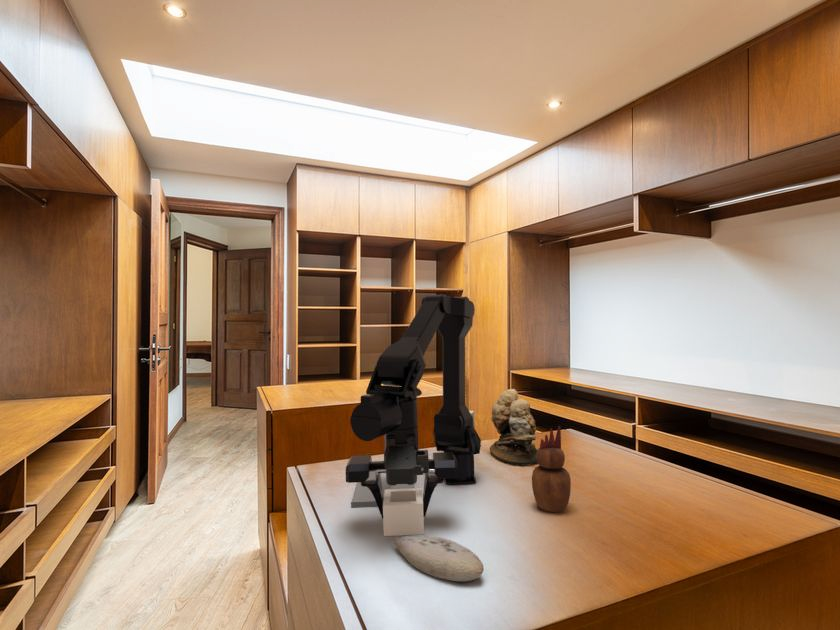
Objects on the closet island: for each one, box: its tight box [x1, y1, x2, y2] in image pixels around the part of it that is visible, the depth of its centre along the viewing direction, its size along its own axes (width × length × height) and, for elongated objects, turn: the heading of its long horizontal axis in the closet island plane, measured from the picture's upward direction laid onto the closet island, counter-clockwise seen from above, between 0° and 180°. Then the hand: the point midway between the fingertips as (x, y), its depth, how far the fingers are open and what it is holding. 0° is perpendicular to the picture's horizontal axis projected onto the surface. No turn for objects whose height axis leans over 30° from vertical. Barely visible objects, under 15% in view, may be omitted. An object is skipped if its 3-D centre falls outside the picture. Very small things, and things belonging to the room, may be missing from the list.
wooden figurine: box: [531, 425, 572, 513], centre depth 80 cm, size 7×6×15 cm
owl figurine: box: [489, 388, 539, 467], centre depth 110 cm, size 18×12×17 cm, turn 12°
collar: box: [382, 487, 425, 537], centre depth 75 cm, size 7×7×5 cm
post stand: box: [350, 473, 415, 509], centre depth 89 cm, size 12×12×6 cm
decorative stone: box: [394, 534, 484, 582], centre depth 63 cm, size 6×16×3 cm, turn 53°
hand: (403, 516), depth 75 cm, fingers closed on collar, 7 cm apart
